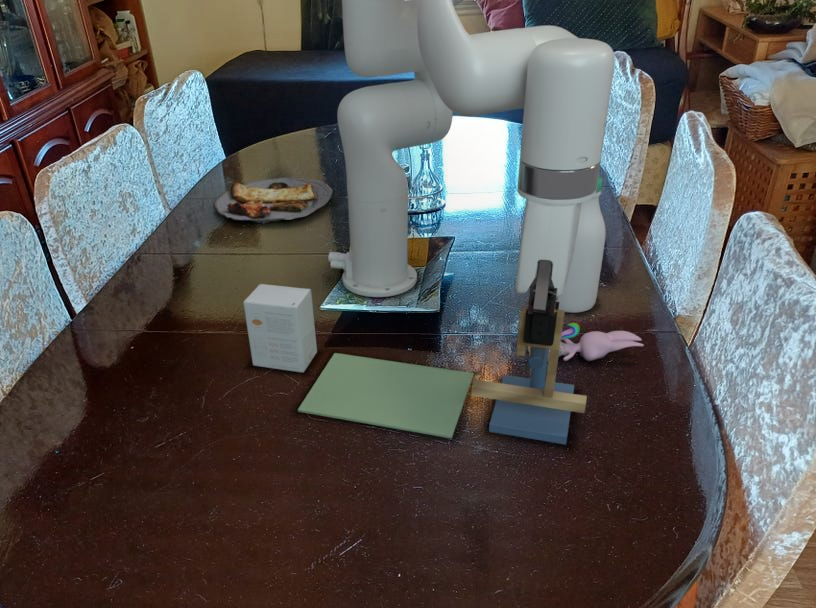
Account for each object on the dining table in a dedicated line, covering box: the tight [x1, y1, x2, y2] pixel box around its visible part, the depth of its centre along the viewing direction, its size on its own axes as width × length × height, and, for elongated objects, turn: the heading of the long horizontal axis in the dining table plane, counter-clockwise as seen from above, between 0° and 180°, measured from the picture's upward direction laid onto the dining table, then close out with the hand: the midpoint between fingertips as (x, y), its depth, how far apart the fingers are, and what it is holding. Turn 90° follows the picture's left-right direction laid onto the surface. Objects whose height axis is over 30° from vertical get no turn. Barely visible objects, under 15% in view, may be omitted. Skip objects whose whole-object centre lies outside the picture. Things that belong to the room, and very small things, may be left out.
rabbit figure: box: [527, 322, 645, 362], centre depth 99 cm, size 6×6×15 cm
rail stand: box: [488, 346, 575, 446], centre depth 88 cm, size 9×11×11 cm
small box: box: [243, 283, 318, 373], centre depth 101 cm, size 8×6×10 cm
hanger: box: [471, 305, 588, 414], centre depth 83 cm, size 13×2×12 cm, turn 71°
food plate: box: [212, 176, 333, 225], centre depth 154 cm, size 25×23×4 cm
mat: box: [297, 352, 475, 439], centre depth 96 cm, size 20×14×1 cm
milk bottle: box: [556, 175, 606, 314], centre depth 108 cm, size 8×8×20 cm
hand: (539, 336), depth 81 cm, fingers closed on hanger, 1 cm apart
